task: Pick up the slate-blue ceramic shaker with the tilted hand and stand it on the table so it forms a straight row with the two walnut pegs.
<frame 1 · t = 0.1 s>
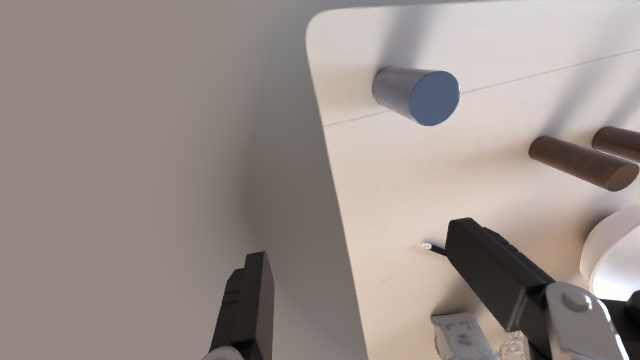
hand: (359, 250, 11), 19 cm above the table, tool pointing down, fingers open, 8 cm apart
pegs: (572, 142, 33), on the table
pen: (462, 258, 41), on the table
shaker: (389, 86, 27), on the table
figurine: (517, 322, 51), on the table
incense holder: (444, 325, 48), on the table
bowl: (606, 228, 42), on the table
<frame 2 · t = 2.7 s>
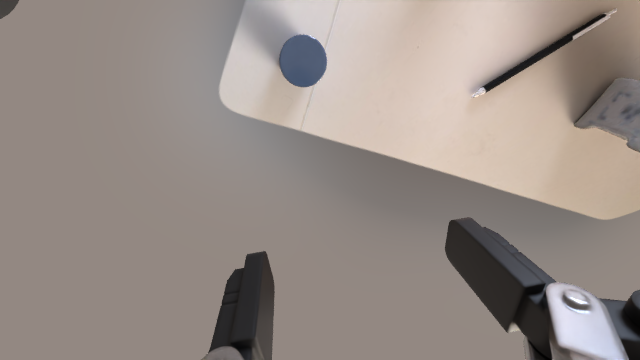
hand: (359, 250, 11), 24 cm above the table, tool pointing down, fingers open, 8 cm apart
pen: (535, 55, 33), on the table
shaker: (298, 60, 29), on the table
incense holder: (607, 113, 38), on the table
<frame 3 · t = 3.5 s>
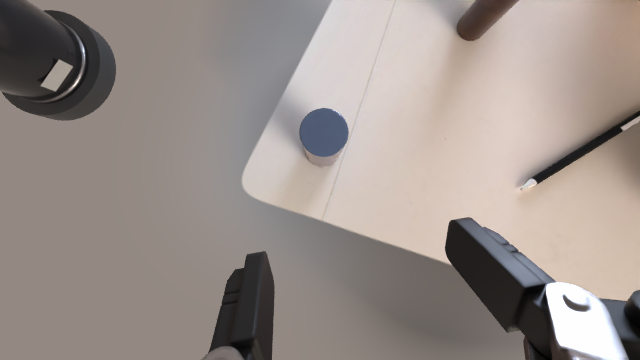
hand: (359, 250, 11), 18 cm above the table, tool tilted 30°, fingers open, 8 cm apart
pen: (584, 147, 30), on the table
shaker: (322, 149, 29), on the table
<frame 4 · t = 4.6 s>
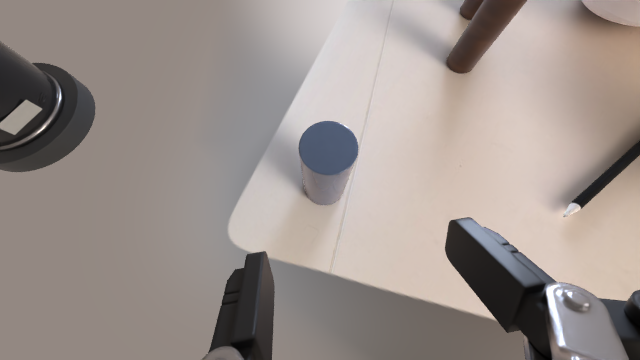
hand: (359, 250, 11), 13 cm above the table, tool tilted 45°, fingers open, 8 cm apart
pegs: (466, 36, 32), on the table
pen: (614, 166, 27), on the table
shaker: (324, 186, 25), on the table
bowl: (605, 4, 34), on the table
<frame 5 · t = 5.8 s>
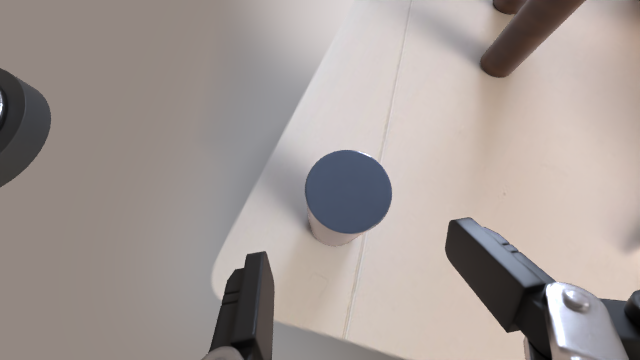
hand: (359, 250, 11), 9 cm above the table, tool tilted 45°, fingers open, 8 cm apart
pegs: (502, 32, 27), on the table
shaker: (334, 220, 20), on the table
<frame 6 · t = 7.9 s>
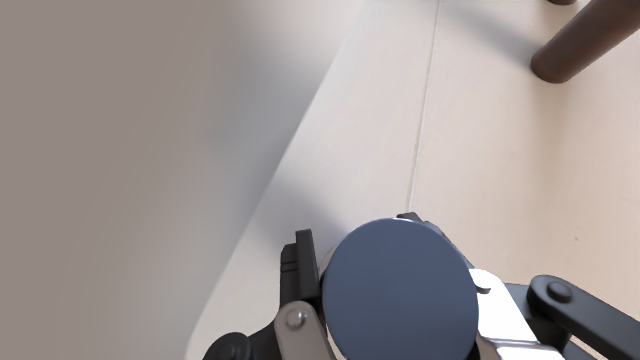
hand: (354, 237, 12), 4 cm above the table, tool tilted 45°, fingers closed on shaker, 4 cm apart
pegs: (555, 27, 21), on the table
shaker: (351, 277, 15), on the table, touching gripper
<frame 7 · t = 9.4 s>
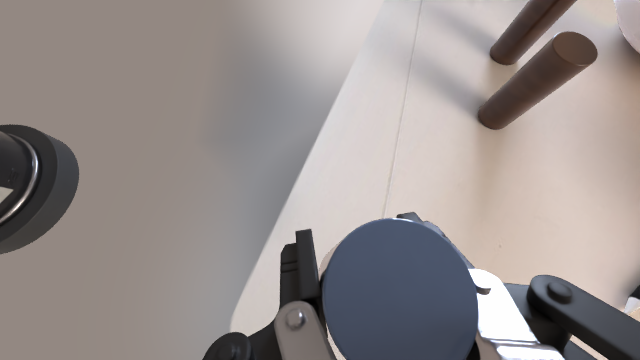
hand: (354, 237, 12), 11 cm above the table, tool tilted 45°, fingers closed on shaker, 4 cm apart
pegs: (498, 84, 28), on the table
shaker: (351, 277, 15), point 7 cm above the table, touching gripper
when the fingers open (4 cm above the table, at t = 15.9 s): shaker stays where it is, on the table.
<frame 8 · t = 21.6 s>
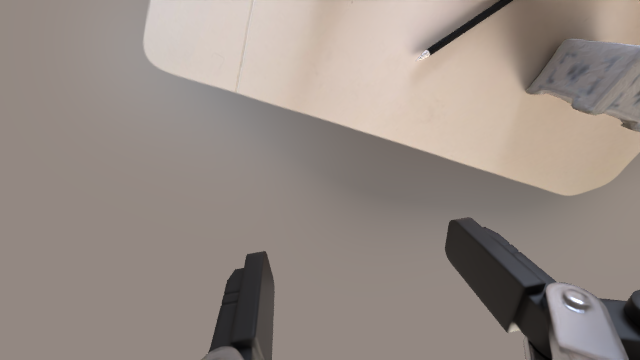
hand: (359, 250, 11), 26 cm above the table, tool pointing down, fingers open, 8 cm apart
pen: (481, 15, 31), on the table
incense holder: (560, 80, 37), on the table
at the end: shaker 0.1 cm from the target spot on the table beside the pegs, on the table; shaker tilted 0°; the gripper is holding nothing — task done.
